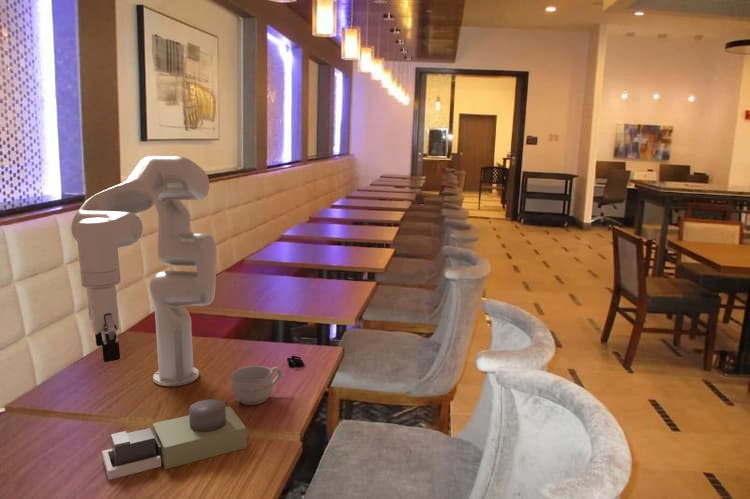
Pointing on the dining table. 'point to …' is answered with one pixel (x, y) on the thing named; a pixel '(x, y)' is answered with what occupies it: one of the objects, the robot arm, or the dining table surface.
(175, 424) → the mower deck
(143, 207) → the robot arm
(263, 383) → the teacup
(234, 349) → the dining table surface
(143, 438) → the grey block
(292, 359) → the wireless earbuds
